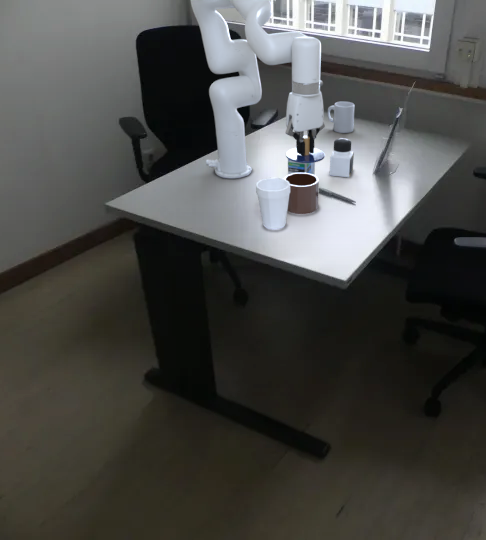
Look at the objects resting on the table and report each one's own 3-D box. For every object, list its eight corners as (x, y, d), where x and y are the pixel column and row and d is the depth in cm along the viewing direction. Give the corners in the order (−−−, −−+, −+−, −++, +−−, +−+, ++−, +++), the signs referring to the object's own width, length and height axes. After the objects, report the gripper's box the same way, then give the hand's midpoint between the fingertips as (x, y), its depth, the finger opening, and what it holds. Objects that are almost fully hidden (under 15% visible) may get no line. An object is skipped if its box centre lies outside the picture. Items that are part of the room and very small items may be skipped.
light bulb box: (307, 190, 175) (307, 159, 169) (287, 188, 176) (287, 157, 170) (315, 178, 184) (315, 148, 178) (296, 175, 185) (296, 145, 179)
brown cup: (283, 215, 159) (283, 186, 154) (284, 200, 168) (284, 172, 163) (318, 215, 160) (318, 186, 155) (317, 200, 168) (318, 172, 163)
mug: (356, 128, 229) (357, 103, 223) (348, 134, 223) (349, 108, 217) (331, 124, 234) (332, 99, 228) (322, 129, 227) (323, 103, 221)
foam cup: (291, 218, 158) (290, 177, 151) (290, 233, 150) (289, 191, 143) (259, 218, 157) (257, 177, 150) (256, 233, 150) (254, 191, 143)
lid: (285, 164, 148) (284, 143, 145) (286, 150, 157) (286, 130, 154) (325, 165, 149) (325, 144, 145) (324, 150, 158) (324, 130, 155)
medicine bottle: (349, 177, 184) (351, 144, 178) (329, 175, 186) (330, 142, 179) (352, 170, 190) (354, 137, 184) (333, 168, 191) (334, 135, 185)
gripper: (321, 80, 149) (320, 143, 159) (272, 88, 140) (274, 154, 151) (338, 86, 144) (335, 151, 154) (288, 95, 135) (289, 163, 146)
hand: (305, 152), depth 152 cm, fingers closed on lid, 2 cm apart
